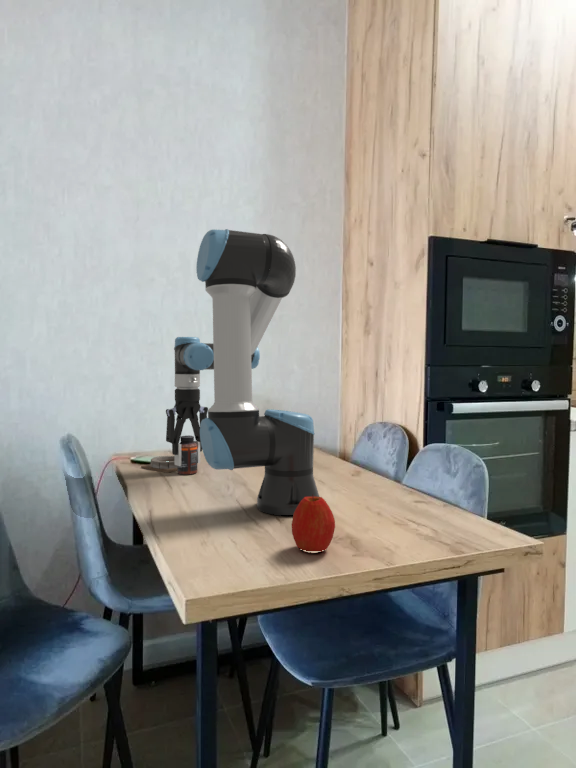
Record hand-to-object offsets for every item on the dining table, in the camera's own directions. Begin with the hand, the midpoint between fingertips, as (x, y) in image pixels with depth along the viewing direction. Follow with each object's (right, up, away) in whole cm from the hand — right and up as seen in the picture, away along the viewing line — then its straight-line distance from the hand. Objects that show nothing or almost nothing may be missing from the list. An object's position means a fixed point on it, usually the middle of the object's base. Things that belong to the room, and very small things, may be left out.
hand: (187, 463), depth 165 cm
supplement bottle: (0, -3, 0) cm, 3 cm away
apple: (+35, -7, -63) cm, 73 cm away
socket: (-8, -2, +9) cm, 12 cm away
